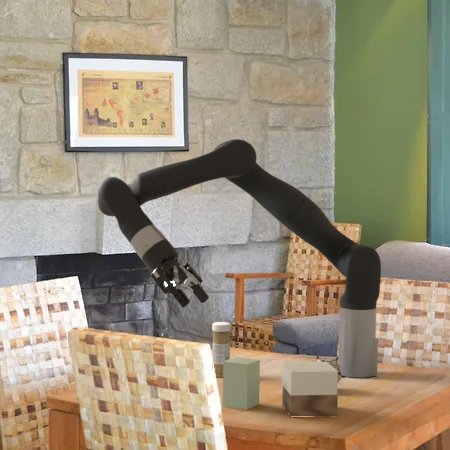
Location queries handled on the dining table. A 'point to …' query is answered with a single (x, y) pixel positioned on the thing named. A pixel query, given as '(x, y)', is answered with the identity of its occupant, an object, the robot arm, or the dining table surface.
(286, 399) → the tower bottom
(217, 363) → the sprinkles bottle
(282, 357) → the dining table surface
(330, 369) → the tower top
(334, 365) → the game die
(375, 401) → the dining table surface
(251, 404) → the sage block
